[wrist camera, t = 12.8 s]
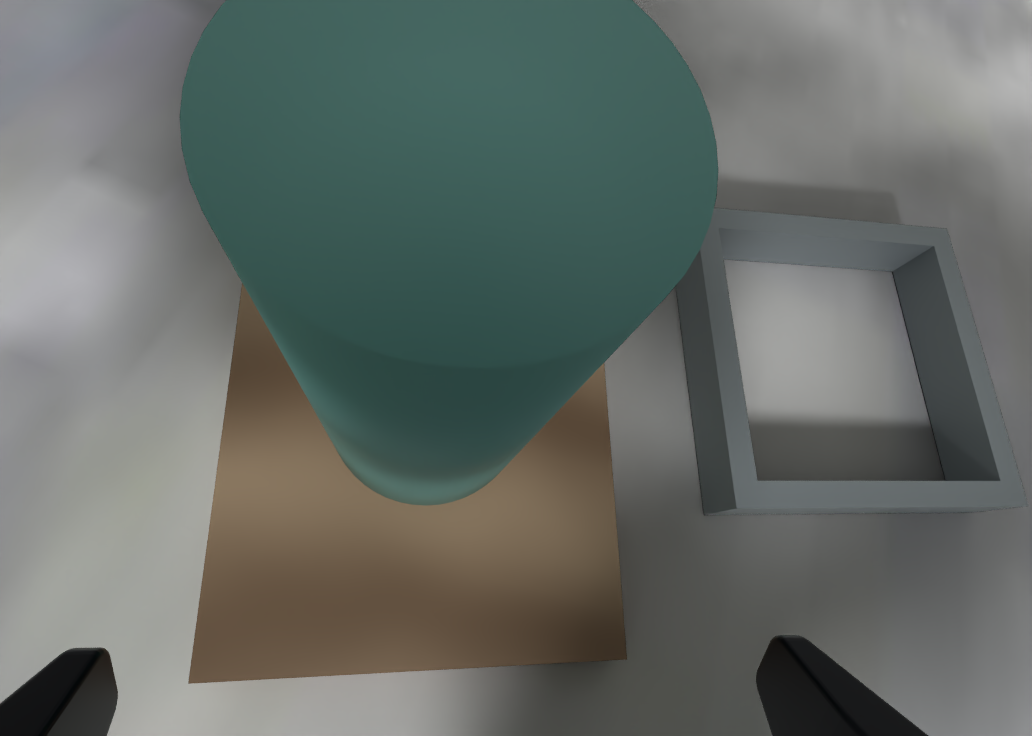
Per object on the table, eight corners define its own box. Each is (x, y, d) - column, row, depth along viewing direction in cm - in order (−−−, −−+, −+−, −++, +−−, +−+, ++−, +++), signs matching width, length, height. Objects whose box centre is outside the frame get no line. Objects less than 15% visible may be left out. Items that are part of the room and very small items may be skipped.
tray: (972, 512, 21) (1028, 505, 19) (703, 514, 19) (736, 508, 17) (905, 255, 24) (946, 228, 23) (670, 236, 23) (694, 205, 21)
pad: (612, 653, 17) (626, 659, 16) (203, 675, 15) (188, 683, 14) (582, 231, 22) (592, 213, 21) (263, 206, 20) (255, 185, 19)
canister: (525, 505, 17) (752, 378, 6) (320, 506, 16) (130, 355, 5) (520, 323, 19) (687, -39, 8) (336, 314, 18) (221, -114, 7)
